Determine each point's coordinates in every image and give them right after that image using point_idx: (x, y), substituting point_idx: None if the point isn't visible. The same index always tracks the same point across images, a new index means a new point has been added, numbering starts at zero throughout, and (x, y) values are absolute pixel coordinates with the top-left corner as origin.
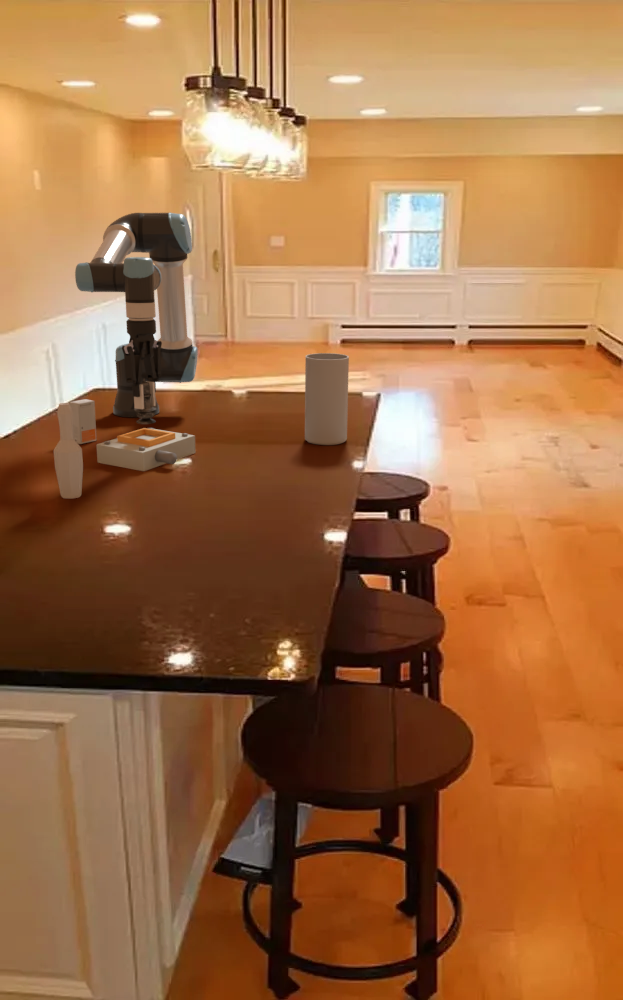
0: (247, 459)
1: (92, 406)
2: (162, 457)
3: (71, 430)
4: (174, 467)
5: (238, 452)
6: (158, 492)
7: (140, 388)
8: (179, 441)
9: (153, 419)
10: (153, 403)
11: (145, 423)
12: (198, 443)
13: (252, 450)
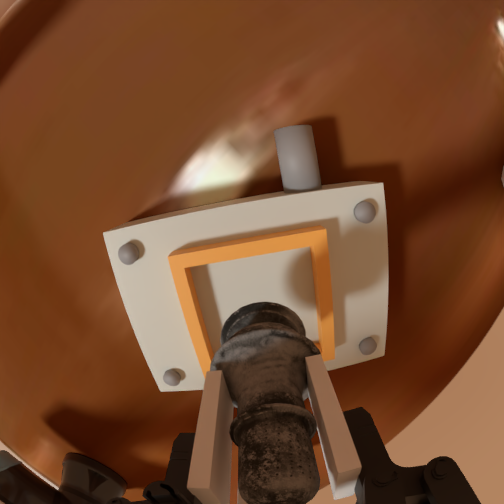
0: (89, 77)
1: (244, 501)
2: (316, 155)
3: None
4: (275, 143)
5: (57, 146)
6: (424, 49)
7: (353, 450)
8: (184, 213)
9: (232, 331)
10: (220, 381)
11: (293, 314)
12: (74, 289)
13: (32, 141)
